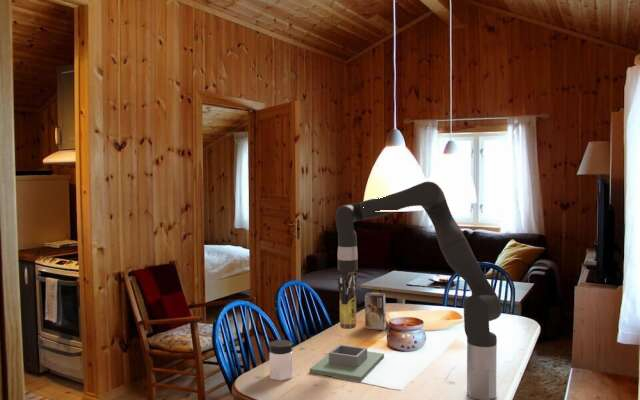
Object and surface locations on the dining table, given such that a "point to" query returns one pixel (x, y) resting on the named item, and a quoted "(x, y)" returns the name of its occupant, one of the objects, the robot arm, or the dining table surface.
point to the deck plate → (347, 363)
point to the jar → (280, 360)
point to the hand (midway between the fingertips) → (348, 301)
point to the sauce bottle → (348, 310)
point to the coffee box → (375, 311)
